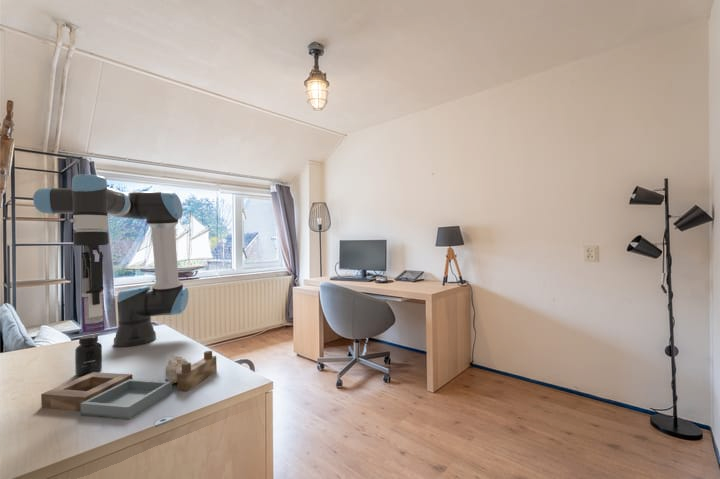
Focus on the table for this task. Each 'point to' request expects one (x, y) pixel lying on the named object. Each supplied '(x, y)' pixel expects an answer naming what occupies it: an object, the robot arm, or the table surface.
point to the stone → (174, 368)
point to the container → (91, 323)
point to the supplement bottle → (88, 355)
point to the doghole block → (81, 390)
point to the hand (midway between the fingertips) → (93, 314)
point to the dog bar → (196, 372)
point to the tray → (126, 399)
